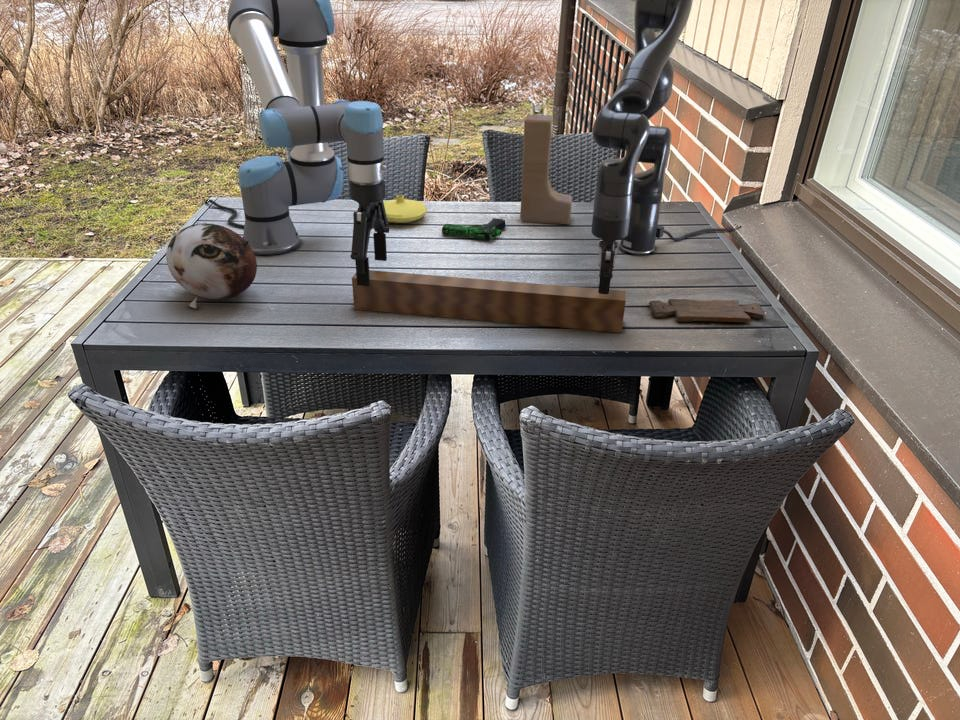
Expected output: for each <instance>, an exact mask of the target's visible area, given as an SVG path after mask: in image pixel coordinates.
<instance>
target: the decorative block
mask: <svg viewBox="0 0 960 720" xmlns="http://www.w3.org/2000/svg"><path fill="white" fill-rule="evenodd" d="M523 124H524V125H523V147H522V167H521V168H522V170H521V190H520V191H521V192H520V193H521V194H520V210H519V211H520V214H519V215H520V216H519V221H520V222H525V223H541V224H557V225H570V223H571V217H572V215H571V214H572V203H573V196H572V195H571V194H566V193H561V192H558V191H557V190H555V189H554V188H552V187H553V186H552V185H551V180H550V176H549V175H550V161H551V160H550V159H551V147H552V129H553V127H552V126H553V116H552V115H551V114H549V115H548V114H526V116H525V119H524V123H523Z"/></svg>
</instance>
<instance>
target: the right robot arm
mask: <svg viewBox="0 0 960 720" xmlns="http://www.w3.org/2000/svg"><path fill="white" fill-rule="evenodd" d="M693 2H694V1H693V0H635V2H634V14H633V15H634V23H633V24H634V55H633V56H632V57H631V58H630V59H629V61H628V62H627V64H626V65H625V67H624V69H623V71H622V74H621V76H620V80H619V82H618V85H617V88H616V90H615V92H614V93H613V94H612V95H611V97H610V98H609V99H608V100H607V102H606V103H605V104H604V106H603V107H602V108H601V109H600V111H599V112H598V114H597V116H596V117H595V119H594V121H593V125H592V138H593V141H594V143H595V144H596V145H597V146H599V147H601V148H606V149H613V150H622V151H625V154H624V156H623V157H619V158H618V157H617V158H609V159H605V160H603V161H601V163H600V164H599V167H598V174H597V183H596V193H595V196H594V202H593V211H592V222H591V223H592V224H591V234H592V235H593V236H594V237H595V238H597V239H599V240H598V250H597V254H598V262H597V265H598V267H599V273H598V277H599V282H598V289H599V290H598V292H599V293H600V294H608V293H609V290H610V287H611V280H612V279H613V276H614V275H613V271H614V268H615V267H616V259H617V255H618V249H620V250H621V251H622V252H624V253H627V254H630V255H635V256H646V255H650V254H653V253H654V252H655V248H656V240H657V239H661V238H663V236H664V234H666V235H667V236H668V237H669V239H671V240H672V241H674V242H680V241H682V240H685V239H686V238H688V237H691V236H695V235H698V234H702V233H708V232H729V231H731V230H733V229H734V228H730V227H731V226H729V227H725V228H723V227H722V228H704V229H698V230H695V231H692V232H689V233H686V234H684V235H682V236H680V237H674V236H673V235H672V234H671V232H670V231H668V230H666V229H665V226H663V225H659V219H660V212H661V205H662V198H663V191H664V185H665V176H666V169H667V165H668V159H669V155H670V150H671V145H672V131H671V129H670V127H668V126H661V125H650V121H649V120H650V119H651V118H653V117H654V116H655V115H656V114H657V113H658V112H660V110H662V109H663V108H664V106H665V105H666V104H667V103H668V102H669V100H670V98H671V97H672V91H673V84H674V77H675V69H674V65H673V63H672V60H671V59H670V56H671V54H672V53H673V51H674V49H675V47H676V45H677V43H678V42H679V39H680V37H681V35H682V33H683V32H684V30H685V28H686V25H687V24H688V21H689V18H690V14H691V11H692V8H693V7H692V6H693ZM655 31H660V32H661V33H660V34H659V35H658V36H657V35H656V32H655ZM638 163H643V164H653V166H652V167H649V169H645V170H643V171H640V172H636V169H637V165H638ZM619 240H620V243H619Z"/></svg>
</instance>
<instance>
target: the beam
mask: <svg viewBox="0 0 960 720" xmlns="http://www.w3.org/2000/svg"><path fill="white" fill-rule="evenodd" d="M369 275H370V286H360V285H357V277H356V272H355V273H354V275H353V276H351V285H352V297H353V309H354V310H359V311H360V310H361V311H370V312H371V311H372V312H384V313H392V314H393V313H394V314H407V315H414V316H415V315H416V316H428V317H438V318H439V317H440V318H449V319H450V318H451V319H462V320H472V321H473V320H474V321H483V322H484V321H485V322H493V323H494V322H495V323H506V324H518V325H527V326H528V325H529V326H542V327H550V328H563V329H573V330H585V331H595V332H596V331H597V332H607V333H618V334H619V333H623V332H622V331H623V323H624V316H625V309H626V301H627V297H626V295H627V294H626V290H619V289H609V293H608V294H600V293H599V292H598V290H599V288H593V287H581V286H569V285H556V284H547V283H546V284H545V283H544V284H543V283H532V282H521V281H509V280H498V279H497V280H496V279H495V280H494V279H485V278H484V279H483V278H471V277H470V278H469V277H459V276H446V275H433V274H422V273H421V274H420V273H408V272H395V271H384V270H372V269H369Z"/></svg>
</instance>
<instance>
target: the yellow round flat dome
mask: <svg viewBox="0 0 960 720" xmlns="http://www.w3.org/2000/svg"><path fill="white" fill-rule="evenodd" d="M383 203H384V207H385V212H386V216H387V220H388V223H393V224H407V223H412V222H416V221H417V220H420V219H422V218H423V217H424V216H426V214H427V211H428V208H427V206H426V205H425V204H424V203H423V202H421V201H418V200H414V199H406V198H405V195H403V194H397V195H396V198H395V199H390V200H385V201H383Z"/></svg>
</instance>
